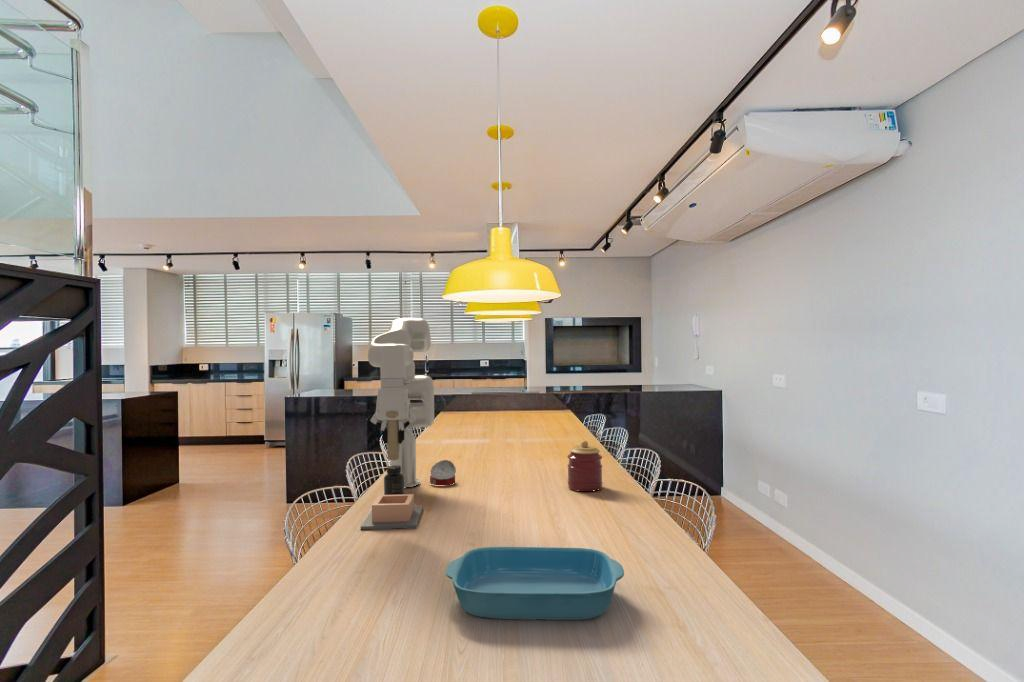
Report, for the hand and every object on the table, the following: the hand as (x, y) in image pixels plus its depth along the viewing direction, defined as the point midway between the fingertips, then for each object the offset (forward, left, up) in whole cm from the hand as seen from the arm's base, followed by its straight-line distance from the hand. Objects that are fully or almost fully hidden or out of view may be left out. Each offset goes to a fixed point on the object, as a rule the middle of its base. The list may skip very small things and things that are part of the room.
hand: (393, 442), depth 159 cm
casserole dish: (+54, +38, -24) cm, 71 cm away
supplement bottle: (-19, -3, -24) cm, 31 cm away
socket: (0, 0, -24) cm, 24 cm away
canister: (-30, +66, -24) cm, 76 cm away
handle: (0, 0, -5) cm, 5 cm away
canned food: (-42, +12, -24) cm, 50 cm away
